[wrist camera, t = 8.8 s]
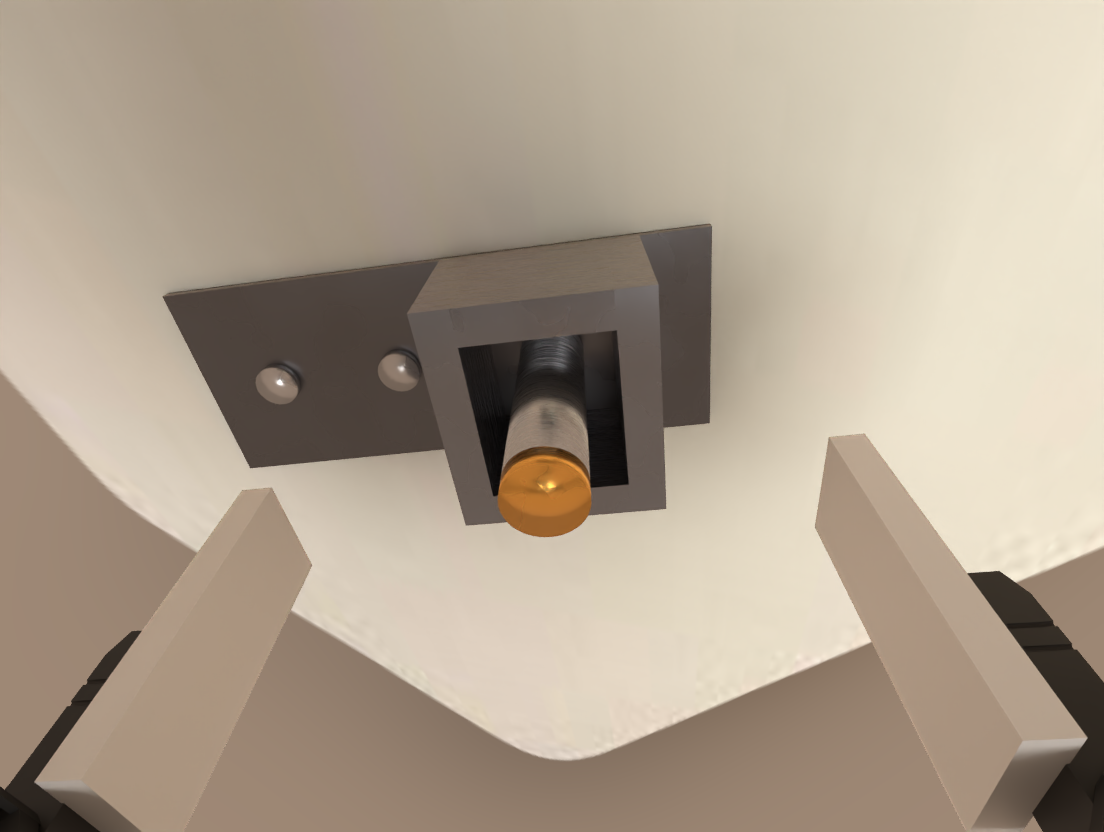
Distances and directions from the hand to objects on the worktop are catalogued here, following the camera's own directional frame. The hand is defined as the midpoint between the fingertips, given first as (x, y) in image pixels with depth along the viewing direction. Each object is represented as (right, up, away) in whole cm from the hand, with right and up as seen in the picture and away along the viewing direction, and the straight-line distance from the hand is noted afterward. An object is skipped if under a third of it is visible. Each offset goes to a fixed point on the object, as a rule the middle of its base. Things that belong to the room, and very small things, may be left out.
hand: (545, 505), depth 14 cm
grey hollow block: (0, +5, +8) cm, 10 cm away
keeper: (-4, +4, +9) cm, 11 cm away
